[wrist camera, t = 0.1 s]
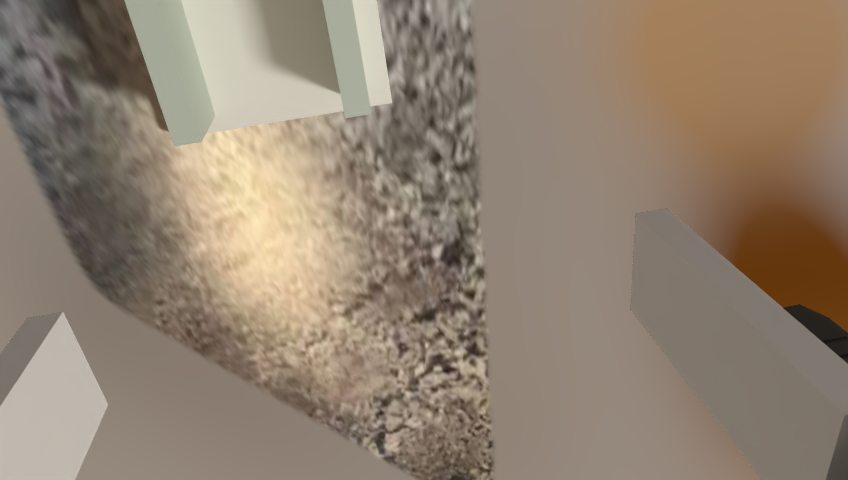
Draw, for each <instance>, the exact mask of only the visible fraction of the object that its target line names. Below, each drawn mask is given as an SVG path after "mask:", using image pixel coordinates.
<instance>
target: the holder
mask: <svg viewBox="0 0 848 480" xmlns="http://www.w3.org/2000/svg"><path fill="white" fill-rule="evenodd" d="M124 1H125V4H126V7H127V10H128V13H129V16H130V18H131V21H132V24H133V27H134V30H135V33H136V36H137V39H138V42H139V45H140V48H141V51H142V54H143V57H144V60H145V63H146V66H147V69H148V71H149V74H150V77H151V80H152V83H153V86H154V89H155V92H156V95H157V98H158V101H159V104H160V107H161V110H162V113H163V116H164V119H165V122H166V124H167V127H168V130H169V133H170V136H171V139H172V142H173V145H174V146H180V145H186V144H192V143H198V142H202V140H203V138H204V136H205V134H206V133H212V132H218V131H224V130H230V129H236V128H242V127H249V126H255V125H261V124H267V123H273V122H279V121H285V120H291V119H297V118H303V117H309V116H315V115H322V114H328V113H334V112H340V111H344V115H345V118H349V117H355V116H361V115H367V114H372V113H371V108H370V106H376V105H382V104H388V103H392V99H391V92H390V86H389V79H388V73H387V66H386V60H385V53H384V47H383V40H382V34H381V27H380V21H379V14H378V7H377V1H376V0H124Z"/></svg>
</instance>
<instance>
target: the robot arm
mask: <svg viewBox="0 0 848 480" xmlns="http://www.w3.org/2000/svg"><path fill="white" fill-rule="evenodd" d="M630 307H631V308H630V310H631V311H632V312H633V314H634V315H635V316H636V317H637V319H638V320H639V321H640V322H641V324H642V325H643V327H644V328H645V329H646V330H647V332H648V333H649V334H650V336H651V337H652V338H653V340H654V341H655V342H656V343H657V345H658V346H659V347H660V349H661V350H662V351H663V352H664V354H665V355H666V356H667V357H668V359H669V360H670V362H671V363H672V364H673V365H674V367H675V368H676V369H677V371H678V372H679V373H680V374H681V376H682V377H683V378H684V380H685V381H686V382H687V384H688V385H689V386H690V387H691V389H692V390H693V391H694V393H695V394H696V395H697V397H698V398H699V399H700V400H701V402H702V403H703V404H704V406H705V407H706V408H707V410H708V411H709V412H710V413H711V415H712V416H713V417H714V419H715V420H716V421H717V422H718V424H719V425H720V426H721V428H722V429H723V430H724V432H725V433H726V434H727V435H728V437H729V438H730V439H731V441H732V442H733V443H734V444H735V446H736V447H737V448H738V450H739V451H740V452H741V453H742V455H743V456H744V457H745V459H746V460H747V461H748V462H749V464H750V465H751V467H752V468H753V469H754V470H755V472H756V473H757V474H758V476H759V477H760V478H761V479H762V480H848V333H847V332H846V331H844V330H843V329H842V328H841V327H840V326H838V325H837V324H836V323H834V322H833V321H832V320H831V319H830V318H828V317H826V316H824V315H821V314H819V313H817V312H815V311H813V310H811V309H808V308H806V307H804V306H802V305H794V306H789V307H784V308H782V307H781V306H780V305H779V304H778V303H777V302H775V301H774V300H773V299H772V298H771V297H770V296H768V295H767V294H766V293H765V292H764V291H763V290H761V289H760V288H759V287H758V286H757V285H756V284H754V283H753V282H752V281H751V280H750V279H749V278H747V277H746V276H745V275H744V274H743V273H741V272H740V271H739V270H738V269H737V268H736V267H735V266H733V265H732V264H731V263H730V262H729V261H728V260H727V259H725V258H724V257H723V256H722V255H721V254H719V253H718V252H717V251H716V250H715V249H714V248H713V247H711V246H710V245H709V244H708V243H707V242H706V241H704V240H703V239H702V238H701V237H700V236H699V235H697V234H696V233H695V232H694V231H693V230H692V229H691V228H689V227H688V226H687V225H686V224H685V223H684V222H682V221H681V220H680V219H679V218H678V217H676V216H675V215H674V214H673V213H672V212H671V211H670V210H668V209H667V208H665V209H659V210H653V211H647V212H641V213H637V214H636V216H635V234H634V252H633V270H632V287H631V306H630ZM107 406H108V404H107V402H106V399H105V397H104V395H103V393H102V391H101V389H100V387H99V385H98V383H97V381H96V379H95V377H94V375H93V373H92V371H91V369H90V366H89V364H88V362H87V360H86V358H85V356H84V354H83V352H82V350H81V348H80V346H79V344H78V342H77V340H76V338H75V336H74V334H73V332H72V330H71V327H70V326H69V323H68V321H67V319H66V317H65V315H64V313H63V312H58V313H53V314H47V315H42V316H35V317H29V318H27V319H26V320H25V321H24V323H23V324H22V325H21V327H20V328H19V329H18V331H17V332H16V334H15V335H14V336H13V338H12V339H11V340H10V342H9V343H8V344H7V346H6V347H5V348H4V350H3V351H2V352H1V354H0V480H75V478H76V476H77V474H78V471H79V469H80V467H81V464H82V462H83V460H84V458H85V456H86V453H87V451H88V449H89V447H90V444H91V442H92V439H93V437H94V435H95V433H96V431H97V429H98V426H99V424H100V422H101V420H102V417H103V415H104V413H105V411H106V408H107Z"/></svg>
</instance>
